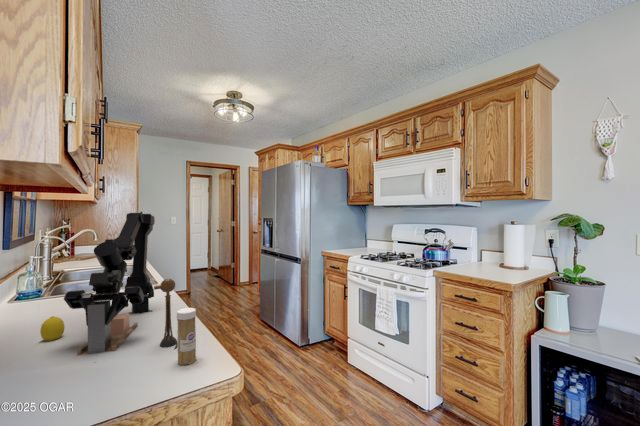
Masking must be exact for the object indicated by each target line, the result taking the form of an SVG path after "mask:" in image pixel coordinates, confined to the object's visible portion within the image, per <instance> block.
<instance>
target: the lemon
mask: <svg viewBox="0 0 640 426" xmlns="http://www.w3.org/2000/svg"><path fill="white" fill-rule="evenodd" d="M64 332H65V322H64V321H63V319H62V318H60V317H57V316H55V315H51V316H50V317H49V318H47V319H45V320H44V321H43V323H42V324H41V326H40V336H41V338H42V340H43V341H46V342H51V341H56V340H59V339H60V338H61V337H62V336H63V334H64Z"/></svg>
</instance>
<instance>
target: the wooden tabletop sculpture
mask: <svg viewBox="0 0 640 426" xmlns="http://www.w3.org/2000/svg"><path fill="white" fill-rule="evenodd" d="M175 287H176V282H175V281H174V279H172V278H165V279H164V280H162V281H161V283H160V284H159V285H158V284H157V285H153V289H154V291H156V290H161V291H162V292H163V293H166V295H165V296H164V297H165V322H164V323H165V327H164V334H163V338H162V340H161V341H160V344H159V347H160V348H162V349H164V348H166V349H167V348H171V347H174V346H175V347H174V349H173V350H176V349H178V340H177V338H176V337H175V336H173V328H172V314H171V311H172V310H171V296H172V295H171V294H170V293H171V292H172V291H174V290H175Z"/></svg>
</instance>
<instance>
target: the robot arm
mask: <svg viewBox="0 0 640 426" xmlns="http://www.w3.org/2000/svg"><path fill="white" fill-rule="evenodd" d="M155 220H156V219H155V216H154V215H152V214H151V213H143V212H142V213H141V212H129V213H127V214H126V219H125V222H124V223H123V227H122V228H121V231H120V233H119V235H118V237H116V238H114V239H113V238H112V239H111V238H109V239H107V238H106V239H105V240H104V242H100V243H99V244H97V245H96V246H95V247H94V248H93V253H94V255H95V257H96V259H97V260H98V263H99V265H100V266H101V267H102V268H104V269H103V272H93V273H90V276H89V282H88V285H89V286H92V288H91V289H92V291H93V292H95V293H92V292H86V291H85V290H84V289H81V290H80V289H79V290H77V289H75V290H69V291H67V292H66V293H65V294H64V297H63V301H64V302H65V303H66V304H67V305H68V307H69V308H70V309H71V310H79V309H83V310H84V311H85V323H86V327H88V314H87V306H88V305H89V304H91V303H93V302H96V301H109V300H110V301H111V303H110V309H109V312H108V315H107V317H106V321H105V324H106V325H108V324H109V323H110V322H111V321H112V319H113V318H114V317H115V316H116V315H118V314H119V313H120V312H121V311H122V310H123V309H124V308H127V307H129V306H130V304H131V311H130V312H128V313H127V314H129V315H132V314H143V313H152V312H153V310H151V309H149V307H150V306H149V305H150V304H149V301H150V300H149V299H152V298H154V297H155V290H154V285H152V284H153V283H152V282H151V277H150V276H149V274H148V273H147V261H148V260H147V259H148V239H149V235H150V234H151V233H152V231H153V228H154V225H155ZM131 260H132V273H131V274H130V275H129V276H127V278H126V284H125V286H124V282H123V281H124V279H125V274H126V273H127V272H128V264H127V262H126V261H131ZM122 287H124V290H123V291H121V288H122ZM129 303H130V304H129Z"/></svg>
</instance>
